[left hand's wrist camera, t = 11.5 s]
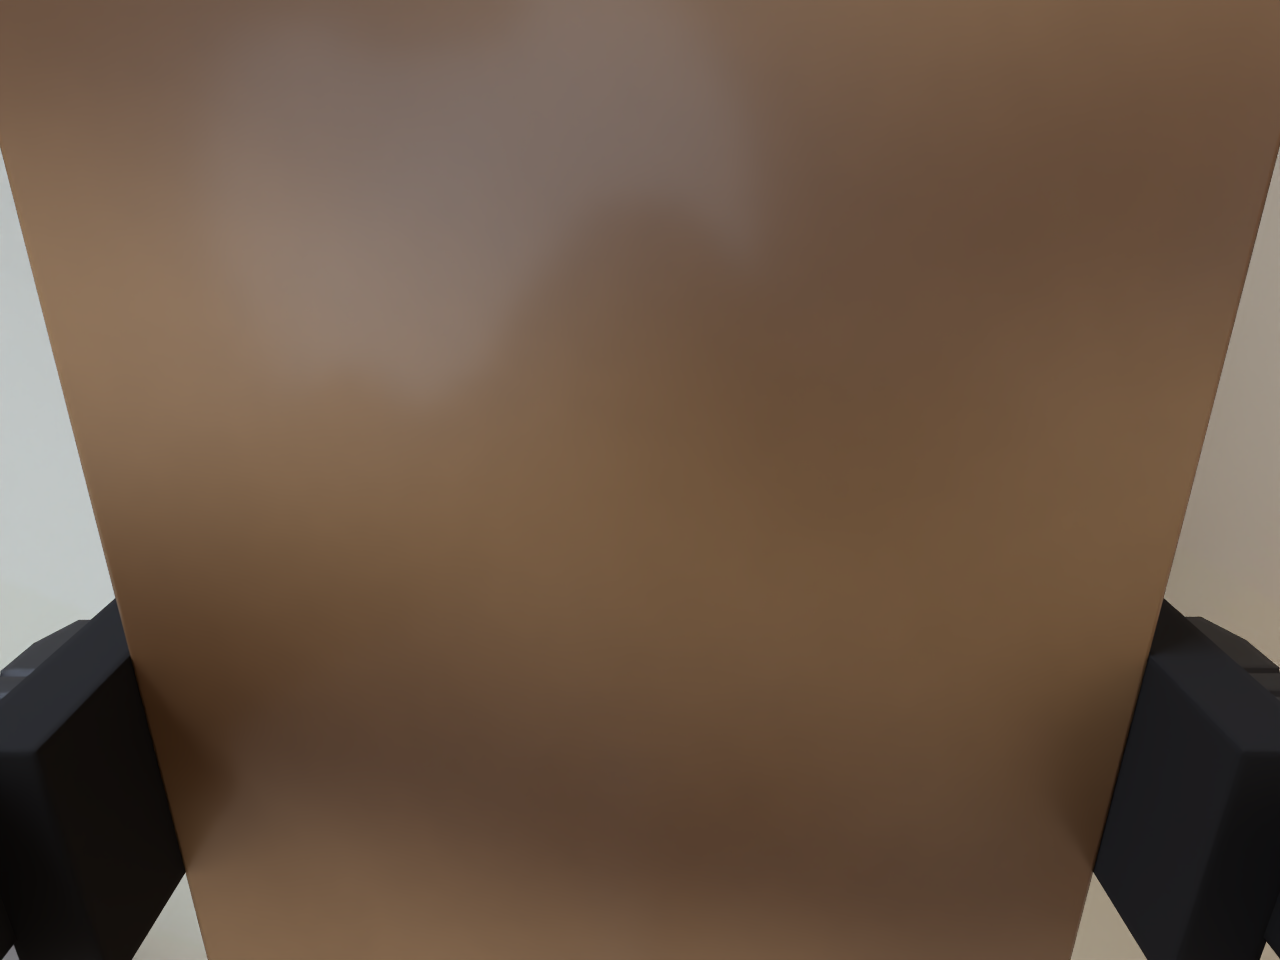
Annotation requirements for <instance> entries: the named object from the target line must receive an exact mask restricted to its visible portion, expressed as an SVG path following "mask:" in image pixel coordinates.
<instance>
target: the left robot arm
mask: <svg viewBox="0 0 1280 960" xmlns="http://www.w3.org/2000/svg"><path fill="white" fill-rule="evenodd" d="M1093 872H1094V874H1095V875H1096V877H1097V879H1098V880H1099V882H1100V884H1101V885H1102V887H1103V888H1104V890H1105V892H1106V893H1107V895H1108V897H1109V898H1110V900H1111V901H1112V903H1113V905H1114V906H1115V908H1116V910H1117V911H1118V913H1119V914H1120V916H1121V918H1122V919H1123V921H1124V923H1125V924H1126V926H1127V927H1128V929H1129V931H1130V932H1131V934H1132V936H1133V937H1134V939H1135V940H1136V942H1137V944H1138V945H1139V947H1140V949H1141V950H1142V952H1143V953H1144V955H1145V957H1146V958H1147V960H1260V957H1261V955H1262V952H1263V949H1264V947H1265V944H1266V941H1267V943H1268V944H1269V945H1270V946H1271V948H1272V949H1273V950H1274V952H1275V953H1276V954H1277V955H1278V957H1279V958H1280V672H1279V667H1278V666H1277V665H1275V664H1274V663H1273V662H1272V661H1271V660H1269V659H1268V658H1267V657H1266V656H1265V655H1263V654H1262V653H1261V652H1260V651H1259V650H1257V649H1256V648H1255V647H1254V646H1253V645H1251V644H1250V643H1249V642H1248V641H1247V640H1245V639H1243V638H1241V637H1239V636H1237V635H1235V634H1233V633H1231V632H1229V631H1227V630H1225V629H1223V628H1222V627H1220V626H1218V625H1216V624H1214V623H1212V622H1210V621H1208V620H1206V619H1204V618H1202V617H1184V616H1183V615H1182V614H1181V613H1180V612H1179V611H1178V610H1176V609H1175V608H1174V607H1173V606H1172V605H1171V604H1170V603H1168V602H1167V601H1166V600H1165V599H1164V598H1163V602H1162V606H1161V609H1160V613H1159V617H1158V621H1157V625H1156V629H1155V633H1154V637H1153V641H1152V644H1151V648H1150V652H1149V656H1148V660H1147V664H1146V668H1145V672H1144V676H1143V679H1142V683H1141V687H1140V691H1139V695H1138V699H1137V703H1136V707H1135V711H1134V714H1133V718H1132V722H1131V726H1130V730H1129V734H1128V738H1127V742H1126V746H1125V749H1124V753H1123V757H1122V761H1121V765H1120V769H1119V773H1118V777H1117V781H1116V784H1115V788H1114V792H1113V796H1112V800H1111V804H1110V808H1109V812H1108V816H1107V819H1106V823H1105V827H1104V831H1103V835H1102V839H1101V843H1100V847H1099V851H1098V854H1097V858H1096V862H1095V866H1094V870H1093ZM184 874H185V868H184V864H183V860H182V856H181V852H180V848H179V845H178V841H177V837H176V833H175V829H174V825H173V821H172V817H171V813H170V809H169V805H168V801H167V798H166V794H165V790H164V786H163V782H162V778H161V774H160V770H159V766H158V762H157V758H156V754H155V751H154V747H153V743H152V739H151V735H150V731H149V727H148V723H147V719H146V715H145V711H144V707H143V704H142V700H141V696H140V692H139V688H138V684H137V680H136V676H135V672H134V668H133V664H132V660H131V657H130V653H129V649H128V645H127V641H126V637H125V633H124V629H123V625H122V621H121V617H120V614H119V610H118V606H117V602H116V598H115V599H114V600H113V601H112V602H111V603H109V604H108V605H107V606H106V607H105V608H104V609H103V610H101V611H100V612H99V613H98V614H97V615H96V616H95V617H94V618H92V619H91V620H78V621H76V622H74V623H72V624H70V625H68V626H66V627H64V628H62V629H60V630H59V631H57V632H55V633H53V634H51V635H49V636H47V637H45V638H43V639H41V640H39V641H37V642H35V643H34V644H32V645H31V646H30V647H29V648H28V649H26V650H25V651H24V652H23V653H22V654H20V655H19V656H18V657H17V658H16V659H14V660H13V661H12V662H11V663H10V664H9V665H7V666H6V667H5V668H4V669H3V670H1V674H0V960H2V959H3V958H4V957H5V955H6V954H7V953H8V951H9V950H10V949H11V948H12V946H13V945H14V947H15V950H16V953H17V955H18V958H19V960H132V958H133V957H134V955H135V953H136V952H137V950H138V949H139V947H140V945H141V944H142V942H143V940H144V939H145V937H146V936H147V934H148V932H149V931H150V929H151V927H152V926H153V924H154V923H155V921H156V919H157V918H158V916H159V914H160V913H161V911H162V910H163V908H164V906H165V905H166V903H167V901H168V900H169V898H170V897H171V895H172V893H173V892H174V890H175V888H176V887H177V885H178V884H179V882H180V880H181V879H182V877H183V875H184Z"/></svg>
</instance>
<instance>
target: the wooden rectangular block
mask: <svg viewBox="0 0 1280 960" xmlns="http://www.w3.org/2000/svg"><path fill="white" fill-rule="evenodd" d="M1279 147H1280V0H0V148H1V152H2V155H3V159H4V163H5V167H6V171H7V175H8V179H9V183H10V187H11V191H12V195H13V199H14V202H15V206H16V210H17V214H18V218H19V222H20V226H21V230H22V234H23V238H24V242H25V246H26V249H27V253H28V257H29V261H30V265H31V269H32V273H33V277H34V281H35V285H36V289H37V292H38V296H39V300H40V304H41V308H42V312H43V316H44V320H45V324H46V328H47V332H48V336H49V339H50V343H51V347H52V351H53V355H54V359H55V363H56V367H57V371H58V375H59V379H60V383H61V386H62V390H63V394H64V398H65V402H66V406H67V410H68V414H69V418H70V422H71V426H72V430H73V433H74V437H75V441H76V445H77V449H78V453H79V457H80V461H81V465H82V469H83V473H84V476H85V480H86V484H87V488H88V492H89V496H90V500H91V504H92V508H93V512H94V516H95V520H96V523H97V527H98V531H99V535H100V539H101V543H102V547H103V551H104V555H105V559H106V563H107V567H108V570H109V574H110V578H111V582H112V586H113V590H114V594H115V598H116V602H117V606H118V610H119V614H120V617H121V621H122V625H123V629H124V633H125V637H126V641H127V645H128V649H129V653H130V657H131V660H132V664H133V668H134V672H135V676H136V680H137V684H138V688H139V692H140V696H141V700H142V704H143V707H144V711H145V715H146V719H147V723H148V727H149V731H150V735H151V739H152V743H153V747H154V751H155V754H156V758H157V762H158V766H159V770H160V774H161V778H162V782H163V786H164V790H165V794H166V798H167V801H168V805H169V809H170V813H171V817H172V821H173V825H174V829H175V833H176V837H177V841H178V845H179V848H180V852H181V856H182V860H183V864H184V868H185V872H186V876H187V880H188V884H189V888H190V891H191V895H192V899H193V903H194V907H195V911H196V915H197V919H198V923H199V927H200V931H201V935H202V938H203V942H204V946H205V950H206V954H207V958H208V960H1070V959H1071V956H1072V952H1073V948H1074V944H1075V940H1076V936H1077V932H1078V928H1079V924H1080V921H1081V917H1082V913H1083V909H1084V905H1085V901H1086V897H1087V893H1088V889H1089V886H1090V882H1091V878H1092V874H1093V870H1094V866H1095V862H1096V858H1097V854H1098V851H1099V847H1100V843H1101V839H1102V835H1103V831H1104V827H1105V823H1106V819H1107V816H1108V812H1109V808H1110V804H1111V800H1112V796H1113V792H1114V788H1115V784H1116V781H1117V777H1118V773H1119V769H1120V765H1121V761H1122V757H1123V753H1124V749H1125V746H1126V742H1127V738H1128V734H1129V730H1130V726H1131V722H1132V718H1133V714H1134V711H1135V707H1136V703H1137V699H1138V695H1139V691H1140V687H1141V683H1142V679H1143V676H1144V672H1145V668H1146V664H1147V660H1148V656H1149V652H1150V648H1151V644H1152V641H1153V637H1154V633H1155V629H1156V625H1157V621H1158V617H1159V613H1160V609H1161V606H1162V602H1163V598H1164V594H1165V590H1166V586H1167V582H1168V578H1169V574H1170V571H1171V567H1172V563H1173V559H1174V555H1175V551H1176V547H1177V543H1178V539H1179V536H1180V532H1181V528H1182V524H1183V520H1184V516H1185V512H1186V508H1187V504H1188V501H1189V497H1190V493H1191V489H1192V485H1193V481H1194V477H1195V473H1196V469H1197V466H1198V462H1199V458H1200V454H1201V450H1202V446H1203V442H1204V438H1205V434H1206V431H1207V427H1208V423H1209V419H1210V415H1211V411H1212V407H1213V403H1214V399H1215V396H1216V392H1217V388H1218V384H1219V380H1220V376H1221V372H1222V368H1223V364H1224V361H1225V357H1226V353H1227V349H1228V345H1229V341H1230V337H1231V333H1232V329H1233V326H1234V322H1235V318H1236V314H1237V310H1238V306H1239V302H1240V298H1241V294H1242V291H1243V287H1244V283H1245V279H1246V275H1247V271H1248V267H1249V263H1250V259H1251V256H1252V252H1253V248H1254V244H1255V240H1256V236H1257V232H1258V228H1259V224H1260V221H1261V217H1262V213H1263V209H1264V205H1265V201H1266V197H1267V193H1268V189H1269V186H1270V182H1271V178H1272V174H1273V170H1274V166H1275V162H1276V158H1277V154H1278V151H1279Z"/></svg>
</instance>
